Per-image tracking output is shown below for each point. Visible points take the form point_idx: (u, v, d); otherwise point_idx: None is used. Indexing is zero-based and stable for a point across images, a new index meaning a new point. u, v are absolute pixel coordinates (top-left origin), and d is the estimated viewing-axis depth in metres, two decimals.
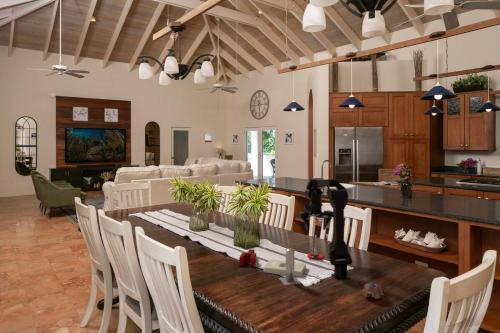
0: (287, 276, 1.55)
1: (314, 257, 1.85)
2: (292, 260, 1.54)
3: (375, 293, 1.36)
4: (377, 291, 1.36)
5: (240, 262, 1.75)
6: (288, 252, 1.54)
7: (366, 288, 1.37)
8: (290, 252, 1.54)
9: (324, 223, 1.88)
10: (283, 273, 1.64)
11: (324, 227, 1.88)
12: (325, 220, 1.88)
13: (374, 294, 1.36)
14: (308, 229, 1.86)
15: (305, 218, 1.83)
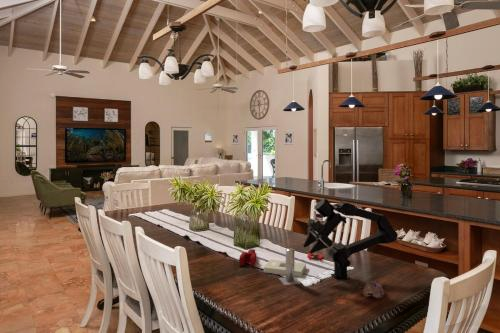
0: (287, 276, 1.55)
1: (314, 257, 1.85)
2: (292, 260, 1.54)
3: (376, 292, 1.36)
4: (378, 290, 1.37)
5: (240, 262, 1.75)
6: (288, 252, 1.54)
7: (367, 288, 1.38)
8: (290, 252, 1.54)
9: (309, 241, 1.63)
10: (283, 273, 1.64)
11: (308, 245, 1.63)
12: (313, 239, 1.63)
13: (375, 293, 1.36)
14: None
15: None
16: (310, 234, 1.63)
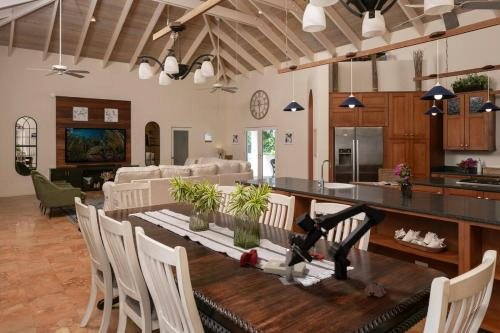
0: (287, 276, 1.55)
1: (314, 257, 1.85)
2: None
3: (378, 292, 1.37)
4: (379, 290, 1.38)
5: (240, 262, 1.76)
6: (288, 252, 1.54)
7: (369, 287, 1.39)
8: (290, 252, 1.54)
9: None
10: (283, 273, 1.64)
11: None
12: None
13: (377, 293, 1.37)
14: (291, 265, 1.54)
15: None
16: None
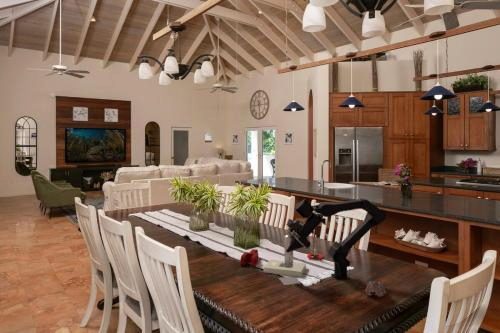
0: (286, 262, 1.56)
1: (314, 257, 1.85)
2: None
3: (378, 291, 1.37)
4: (380, 289, 1.38)
5: (241, 262, 1.76)
6: (286, 238, 1.55)
7: (369, 286, 1.39)
8: (288, 238, 1.55)
9: None
10: (283, 273, 1.64)
11: None
12: None
13: (377, 292, 1.37)
14: None
15: None
16: None
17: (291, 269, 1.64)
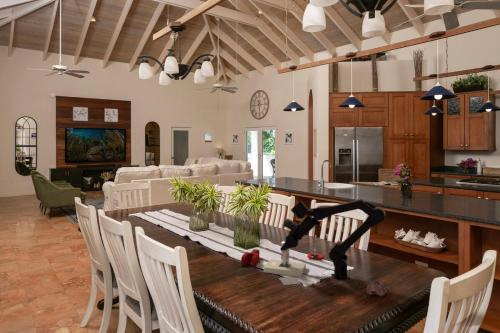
0: (281, 266, 1.69)
1: (314, 257, 1.85)
2: (285, 252, 1.67)
3: (379, 290, 1.38)
4: (381, 288, 1.39)
5: (242, 262, 1.76)
6: (282, 244, 1.68)
7: (370, 286, 1.40)
8: None
9: None
10: (283, 273, 1.64)
11: None
12: None
13: (378, 291, 1.38)
14: None
15: None
16: None
17: (291, 269, 1.64)
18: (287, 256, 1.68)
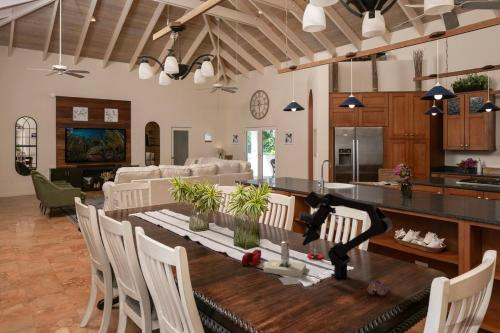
0: (281, 266, 1.69)
1: (314, 257, 1.85)
2: (285, 251, 1.67)
3: (380, 290, 1.39)
4: (382, 288, 1.39)
5: (242, 262, 1.76)
6: (282, 244, 1.68)
7: (371, 285, 1.40)
8: (283, 244, 1.67)
9: None
10: (283, 273, 1.64)
11: None
12: None
13: (379, 291, 1.39)
14: (305, 244, 1.65)
15: None
16: (307, 225, 1.73)
17: (291, 269, 1.64)
18: (287, 256, 1.68)
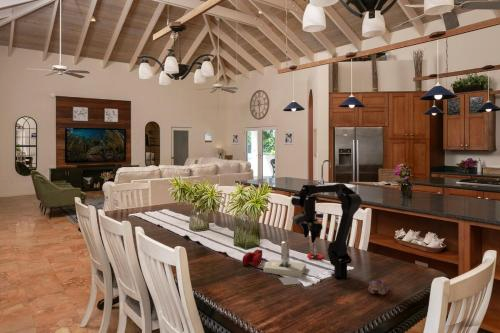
0: (281, 266, 1.69)
1: (314, 257, 1.85)
2: (285, 251, 1.67)
3: (381, 289, 1.39)
4: (383, 287, 1.40)
5: (243, 261, 1.76)
6: (282, 244, 1.68)
7: (372, 285, 1.41)
8: (283, 244, 1.67)
9: (306, 230, 1.81)
10: (283, 273, 1.64)
11: (307, 234, 1.81)
12: (307, 226, 1.81)
13: (380, 290, 1.39)
14: (314, 240, 1.72)
15: None
16: (302, 225, 1.80)
17: (291, 269, 1.64)
18: (287, 256, 1.68)
